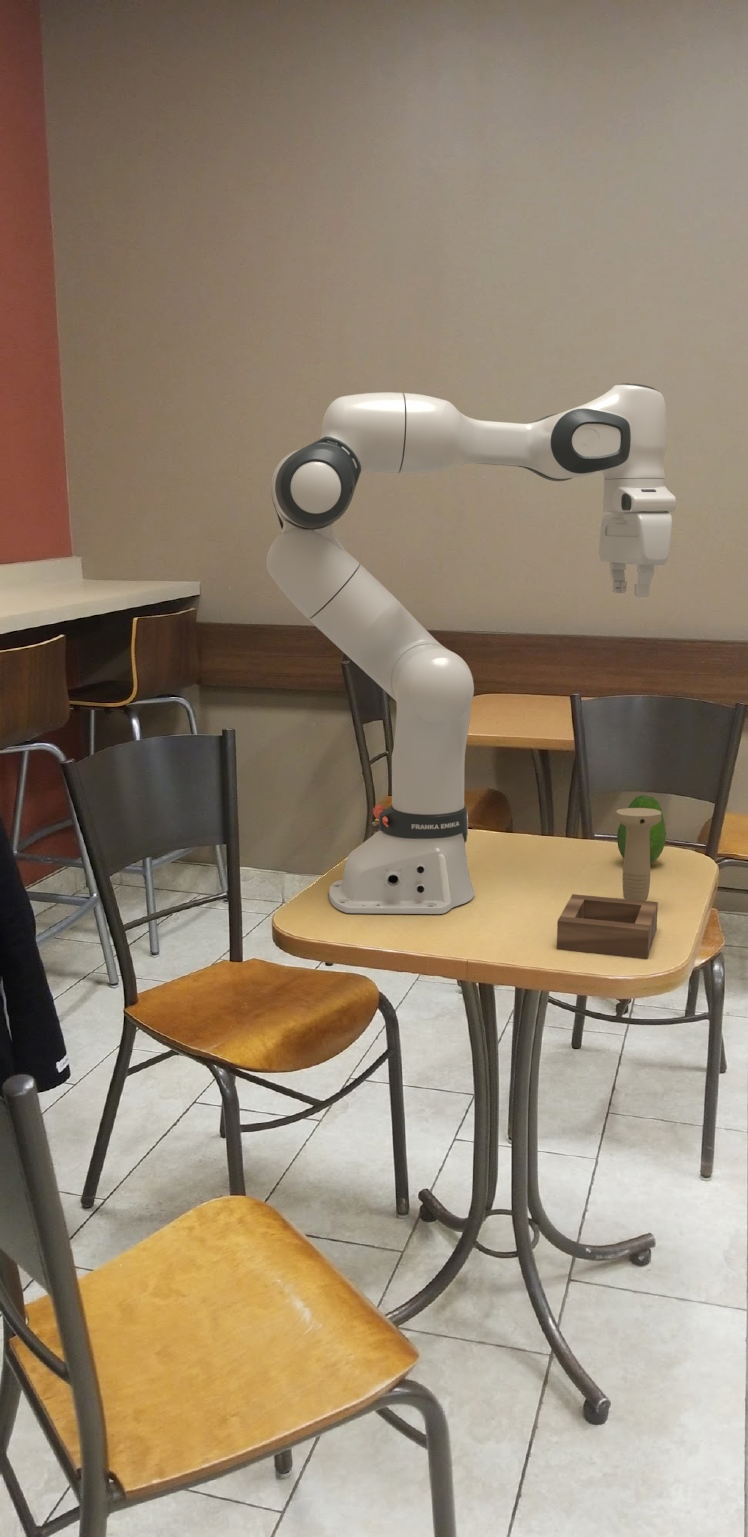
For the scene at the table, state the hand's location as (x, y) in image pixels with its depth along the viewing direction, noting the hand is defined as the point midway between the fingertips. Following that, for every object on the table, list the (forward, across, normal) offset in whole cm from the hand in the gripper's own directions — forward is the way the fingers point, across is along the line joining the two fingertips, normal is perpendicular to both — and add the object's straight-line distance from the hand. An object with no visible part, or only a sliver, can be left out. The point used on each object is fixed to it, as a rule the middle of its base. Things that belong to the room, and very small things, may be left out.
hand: (630, 594), depth 173 cm
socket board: (+46, +22, -10) cm, 52 cm away
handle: (+46, +11, -2) cm, 47 cm away
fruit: (+46, -11, +8) cm, 48 cm away
